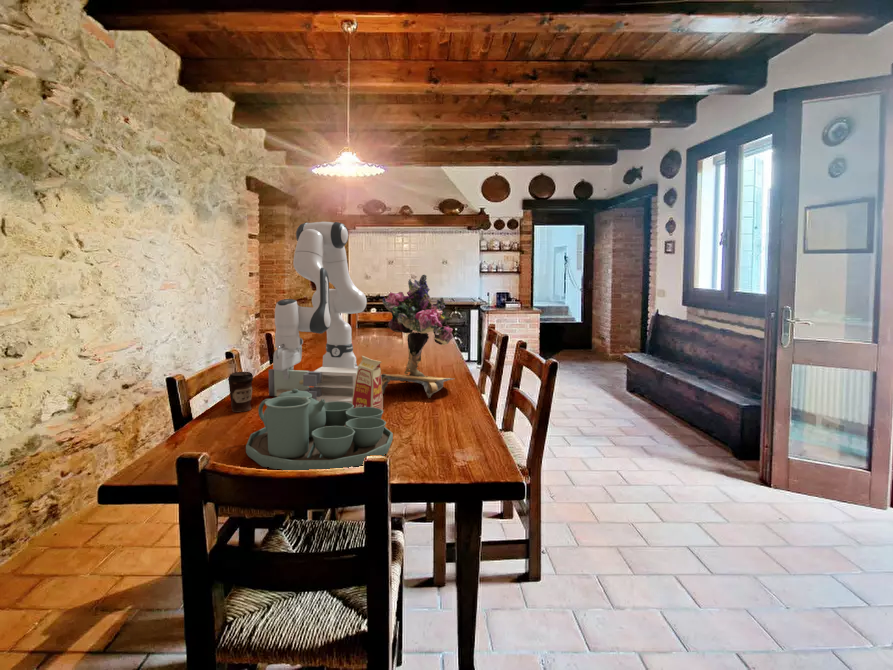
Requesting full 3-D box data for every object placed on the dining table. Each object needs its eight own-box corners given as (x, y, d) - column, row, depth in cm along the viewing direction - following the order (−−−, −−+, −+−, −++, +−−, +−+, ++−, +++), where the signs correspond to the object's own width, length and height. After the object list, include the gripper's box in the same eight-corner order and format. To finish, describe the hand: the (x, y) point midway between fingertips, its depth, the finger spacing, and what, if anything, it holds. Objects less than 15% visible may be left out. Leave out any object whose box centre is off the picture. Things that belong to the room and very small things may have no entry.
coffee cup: (259, 410, 194) (258, 373, 192) (236, 414, 188) (235, 376, 186) (247, 405, 200) (246, 369, 198) (224, 409, 194) (223, 372, 192)
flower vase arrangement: (455, 368, 257) (465, 277, 236) (452, 426, 218) (464, 322, 197) (383, 361, 257) (386, 269, 236) (367, 418, 217) (370, 314, 197)
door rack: (281, 394, 216) (281, 387, 216) (306, 395, 216) (306, 388, 215) (276, 397, 212) (276, 389, 211) (302, 398, 211) (302, 390, 211)
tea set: (392, 473, 140) (393, 409, 138) (228, 476, 136) (226, 410, 134) (392, 426, 179) (393, 376, 177) (264, 427, 176) (263, 376, 173)
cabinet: (317, 394, 218) (317, 366, 217) (361, 396, 217) (361, 368, 215) (303, 404, 202) (303, 374, 201) (351, 406, 201) (351, 376, 200)
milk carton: (350, 415, 190) (350, 357, 188) (363, 408, 199) (363, 353, 196) (374, 418, 187) (374, 359, 185) (386, 411, 196) (387, 355, 193)
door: (270, 394, 216) (269, 369, 214) (309, 396, 214) (309, 370, 213) (267, 396, 213) (266, 370, 211) (306, 398, 211) (306, 372, 210)
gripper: (285, 347, 201) (285, 384, 202) (304, 339, 221) (304, 373, 223) (268, 346, 201) (269, 384, 203) (288, 338, 221) (289, 372, 223)
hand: (288, 378), depth 213 cm, fingers closed on door, 2 cm apart
